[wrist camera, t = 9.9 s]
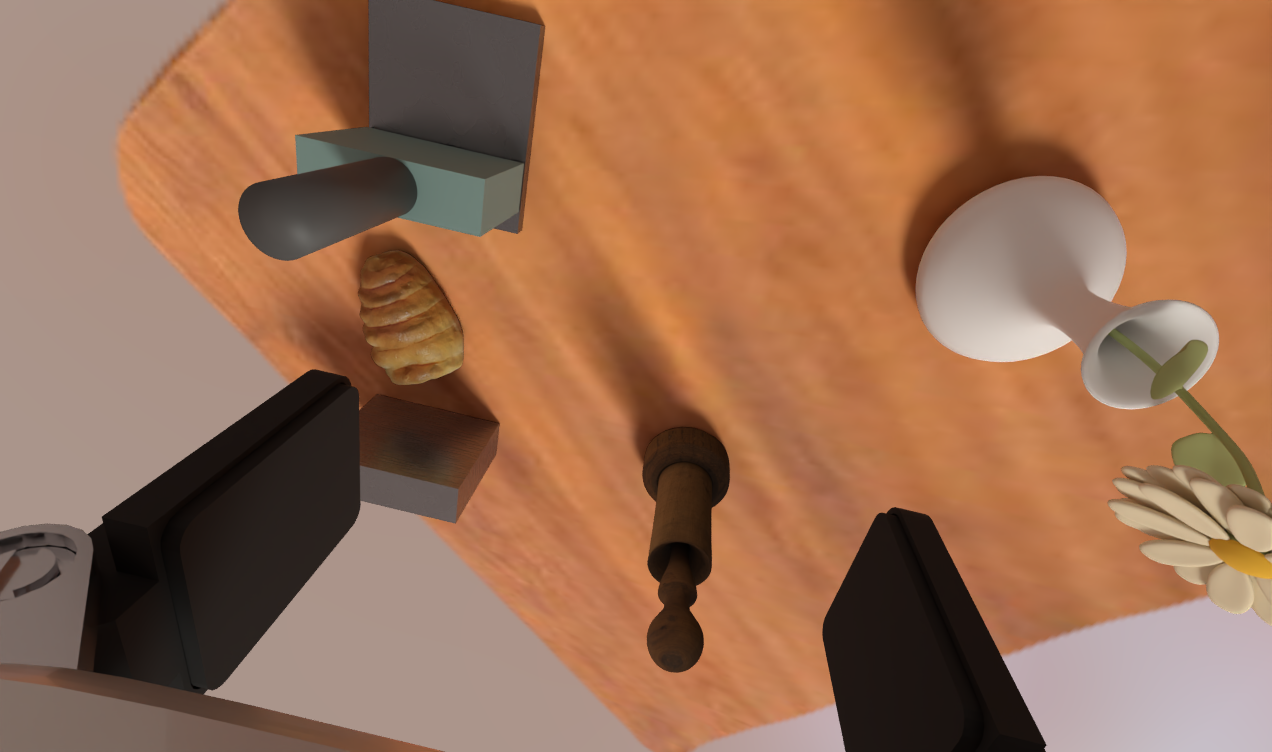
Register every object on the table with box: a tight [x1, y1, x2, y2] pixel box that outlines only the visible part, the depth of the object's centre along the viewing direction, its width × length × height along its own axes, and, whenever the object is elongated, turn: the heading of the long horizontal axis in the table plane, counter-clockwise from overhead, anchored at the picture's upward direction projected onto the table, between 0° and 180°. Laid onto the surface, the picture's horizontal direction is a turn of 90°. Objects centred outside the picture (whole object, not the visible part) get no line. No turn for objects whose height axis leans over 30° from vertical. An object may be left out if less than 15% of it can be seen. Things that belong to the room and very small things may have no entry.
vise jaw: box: [238, 127, 524, 261], centre depth 30 cm, size 3×10×16 cm, turn 78°
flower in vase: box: [915, 176, 1272, 626], centre depth 26 cm, size 13×11×25 cm
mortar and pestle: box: [642, 428, 730, 672], centre depth 38 cm, size 7×6×18 cm
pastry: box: [358, 250, 464, 385], centre depth 42 cm, size 9×7×4 cm
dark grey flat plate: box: [369, 0, 545, 234], centre depth 36 cm, size 12×10×1 cm
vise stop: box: [359, 394, 500, 523], centre depth 43 cm, size 3×10×8 cm, turn 78°
